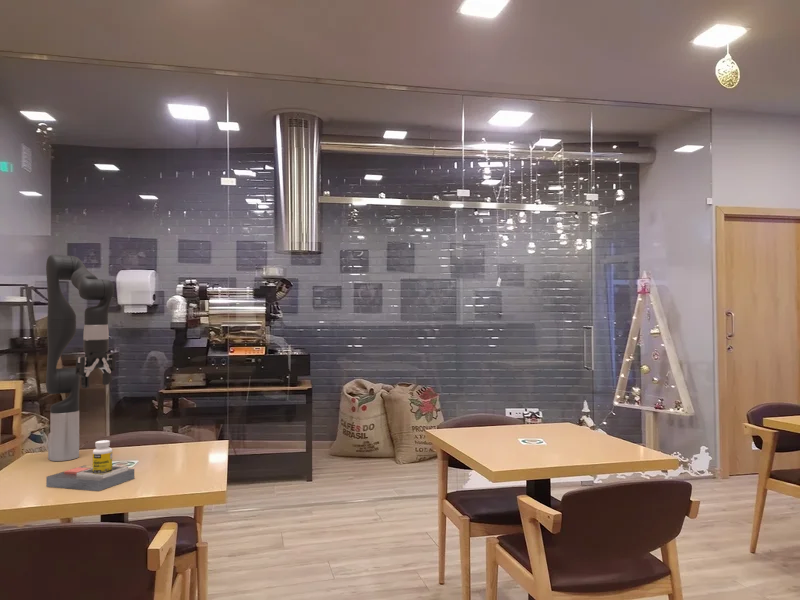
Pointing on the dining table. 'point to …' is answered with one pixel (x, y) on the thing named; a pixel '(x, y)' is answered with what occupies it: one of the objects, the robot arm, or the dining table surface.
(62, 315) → the robot arm
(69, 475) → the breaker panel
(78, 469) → the button
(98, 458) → the supplement bottle
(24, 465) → the dining table surface
